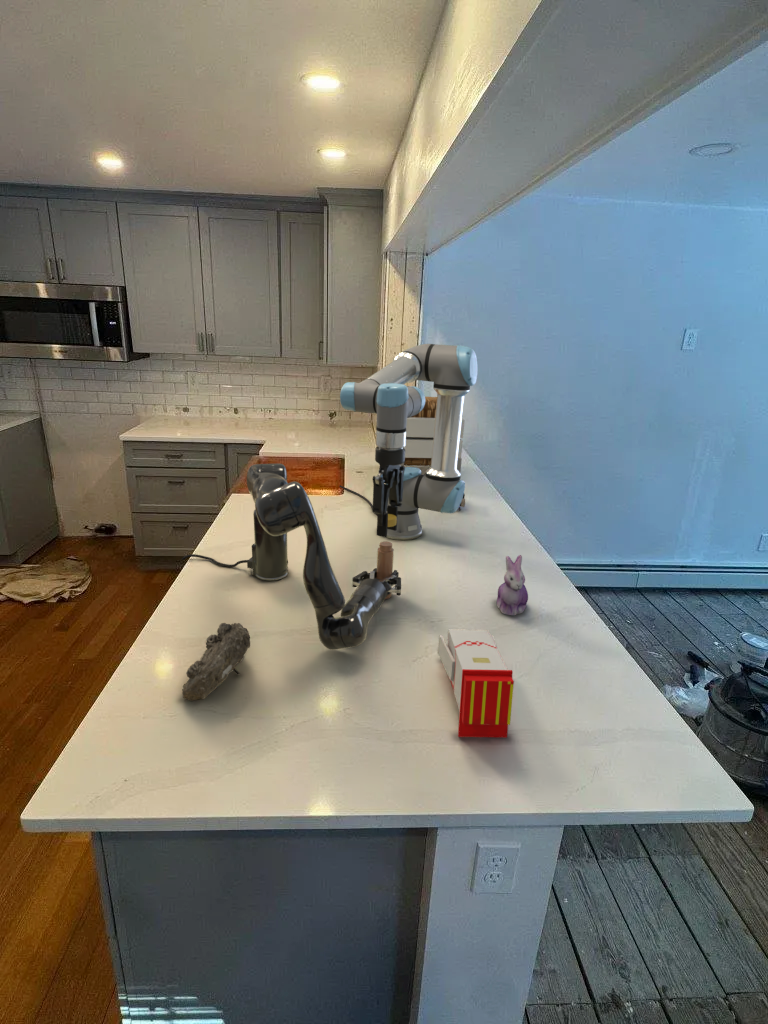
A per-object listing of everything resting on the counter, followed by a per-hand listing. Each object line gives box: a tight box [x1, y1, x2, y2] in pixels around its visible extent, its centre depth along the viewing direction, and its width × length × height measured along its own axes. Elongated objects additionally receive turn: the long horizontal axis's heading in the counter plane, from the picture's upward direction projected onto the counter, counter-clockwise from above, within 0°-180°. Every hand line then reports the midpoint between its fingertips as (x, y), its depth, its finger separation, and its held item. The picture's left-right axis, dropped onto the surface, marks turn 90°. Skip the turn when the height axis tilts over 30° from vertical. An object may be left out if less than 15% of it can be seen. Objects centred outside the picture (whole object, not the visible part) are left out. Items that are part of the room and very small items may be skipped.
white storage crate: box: [400, 396, 465, 475], centre depth 268 cm, size 34×33×41 cm
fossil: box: [181, 622, 251, 702], centre depth 119 cm, size 22×10×15 cm
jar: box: [376, 541, 395, 600], centre depth 154 cm, size 4×4×16 cm
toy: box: [437, 628, 515, 738], centre depth 117 cm, size 12×13×30 cm
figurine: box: [496, 554, 529, 616], centre depth 150 cm, size 9×10×15 cm
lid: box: [388, 514, 397, 527], centre depth 149 cm, size 5×5×2 cm
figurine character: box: [457, 493, 466, 511], centre depth 229 cm, size 7×8×15 cm
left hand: (387, 571), depth 157 cm, fingers closed on jar, 4 cm apart
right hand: (386, 532), depth 151 cm, fingers closed on lid, 5 cm apart
